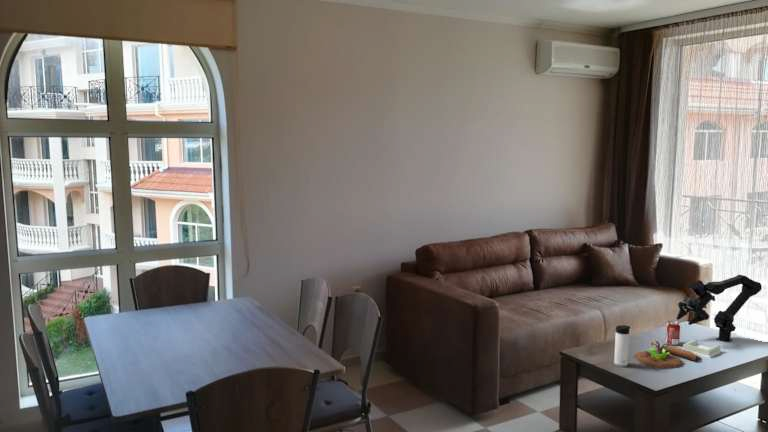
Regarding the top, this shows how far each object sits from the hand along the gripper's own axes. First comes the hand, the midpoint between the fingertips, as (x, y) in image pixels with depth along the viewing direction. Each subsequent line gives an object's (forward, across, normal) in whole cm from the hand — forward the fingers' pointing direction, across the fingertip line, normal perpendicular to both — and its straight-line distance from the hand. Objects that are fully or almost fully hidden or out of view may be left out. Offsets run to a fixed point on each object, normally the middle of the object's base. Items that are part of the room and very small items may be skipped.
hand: (682, 321), depth 319 cm
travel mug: (+45, +22, -27) cm, 57 cm away
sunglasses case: (+18, +16, 0) cm, 24 cm away
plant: (+31, +21, -12) cm, 39 cm away
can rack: (+8, +13, +10) cm, 18 cm away
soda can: (+13, 0, +5) cm, 14 cm away
